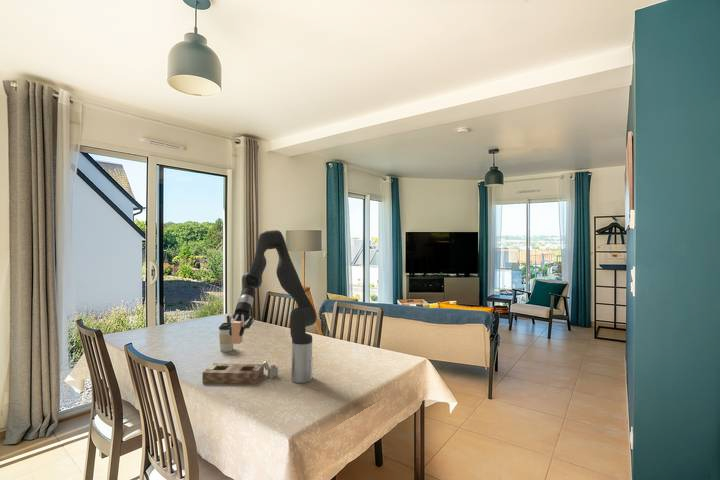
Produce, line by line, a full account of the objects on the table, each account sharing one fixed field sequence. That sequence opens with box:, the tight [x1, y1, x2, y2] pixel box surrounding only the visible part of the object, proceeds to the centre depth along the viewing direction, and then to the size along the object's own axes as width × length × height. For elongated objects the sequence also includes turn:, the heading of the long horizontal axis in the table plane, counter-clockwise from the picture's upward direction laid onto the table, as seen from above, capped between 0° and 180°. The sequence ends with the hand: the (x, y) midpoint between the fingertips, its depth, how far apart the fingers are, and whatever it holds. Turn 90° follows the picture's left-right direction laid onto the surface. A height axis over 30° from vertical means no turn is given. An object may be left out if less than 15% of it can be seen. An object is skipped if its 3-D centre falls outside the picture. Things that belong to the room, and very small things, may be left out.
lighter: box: [262, 360, 279, 379], centre depth 171 cm, size 7×2×8 cm, turn 133°
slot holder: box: [201, 362, 265, 385], centre depth 169 cm, size 24×12×5 cm, turn 90°
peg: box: [231, 321, 244, 345], centre depth 178 cm, size 4×4×10 cm
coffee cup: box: [218, 322, 235, 353], centre depth 211 cm, size 9×9×15 cm
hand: (235, 335), depth 176 cm, fingers closed on peg, 4 cm apart
